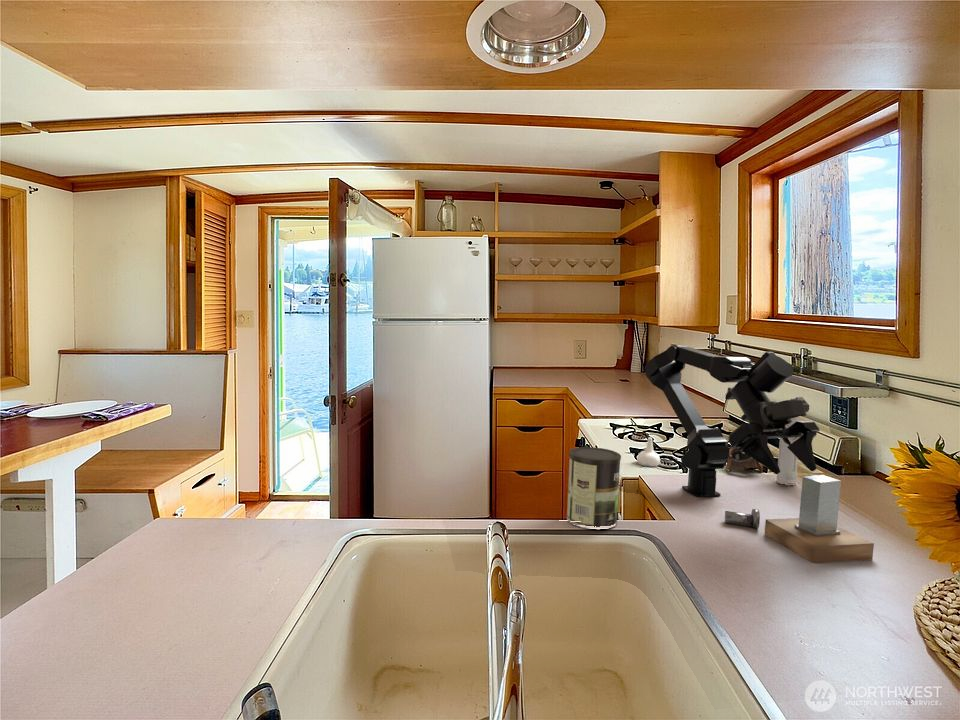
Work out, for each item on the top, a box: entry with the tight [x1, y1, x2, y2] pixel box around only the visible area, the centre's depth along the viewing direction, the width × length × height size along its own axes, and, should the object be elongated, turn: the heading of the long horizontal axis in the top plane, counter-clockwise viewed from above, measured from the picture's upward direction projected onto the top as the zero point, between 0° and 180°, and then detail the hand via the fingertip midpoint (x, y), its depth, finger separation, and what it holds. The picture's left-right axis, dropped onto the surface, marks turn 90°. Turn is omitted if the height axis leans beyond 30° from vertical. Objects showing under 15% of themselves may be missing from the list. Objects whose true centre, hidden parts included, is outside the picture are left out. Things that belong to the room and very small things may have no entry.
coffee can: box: [566, 446, 622, 527], centre depth 105 cm, size 10×10×14 cm
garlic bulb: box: [636, 437, 661, 468], centre depth 148 cm, size 6×6×8 cm
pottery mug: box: [725, 445, 764, 473], centre depth 146 cm, size 12×10×8 cm
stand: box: [763, 517, 875, 564], centre depth 96 cm, size 12×12×3 cm
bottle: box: [776, 417, 799, 486], centre depth 134 cm, size 4×4×20 cm
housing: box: [794, 474, 842, 537], centre depth 96 cm, size 4×6×10 cm
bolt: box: [724, 508, 761, 529], centre depth 105 cm, size 6×4×4 cm, turn 70°
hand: (796, 471), depth 100 cm, fingers open, 9 cm apart
